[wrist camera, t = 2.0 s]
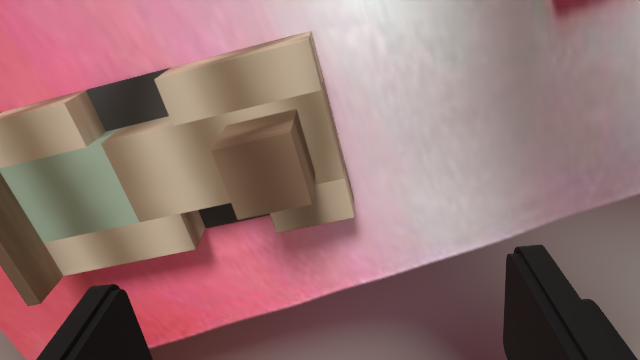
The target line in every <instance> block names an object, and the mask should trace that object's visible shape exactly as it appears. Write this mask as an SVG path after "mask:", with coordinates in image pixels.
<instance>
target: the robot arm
mask: <svg viewBox="0 0 640 360" xmlns="http://www.w3.org/2000/svg"><path fill="white" fill-rule="evenodd" d="M503 344H504V350H505V354H506V356H507V359H508V360H638V359H637V358H636V357H635V355H634V354H633V353H632V351H631V350H630V348H629V347H628V346H627V344H626V343H625V342H624V340H623V339H622V338H621V336H620V335H619V334H618V332H617V331H616V330H615V328H614V327H613V325H612V324H611V323H610V321H609V320H608V319H607V317H606V316H605V315H604V313H603V312H602V311H601V309H600V308H599V307H598V305H597V304H596V303H595V302H594V301H592V300H590V299H582V300H581V299H580V297H579V296H578V294H577V293H576V291H575V290H574V288H573V287H572V286H571V284H570V283H569V281H568V280H567V279H566V277H565V276H564V274H563V273H562V272H561V270H560V269H559V267H558V266H557V264H556V263H555V261H554V260H553V259H552V257H551V256H550V254H549V253H548V252H547V250H546V249H545V247H544V246H543V245H532V246H522V247H516V248H515V250H514V253H513V254H508V255H507V259H506V282H505V307H504V331H503ZM36 360H153V359H152V356H151V354H150V351H149V349H148V346H147V344H146V341H145V338H144V336H143V333H142V331H141V328H140V326H139V323H138V321H137V318H136V316H135V313H134V310H133V308H132V305H131V303H130V300H129V298H128V295H127V293H126V291H125V290H123V289H120V288H119V287H118V286H117V285H115V284H111V285H100V286H93V287H90V288H89V289H88V290H87V292H86V293H85V295H84V296H83V297H82V299H81V300H80V301H79V303H78V304H77V305H76V307H75V308H74V309H73V311H72V312H71V313H70V315H69V316H68V318H67V319H66V320H65V322H64V323H63V324H62V326H61V327H60V328H59V330H58V331H57V332H56V334H55V335H54V336H53V338H52V339H51V340H50V342H49V343H48V345H47V346H46V347H45V349H44V350H43V351H42V353H41V354H40V355H39V357H38V358H37V359H36Z"/></svg>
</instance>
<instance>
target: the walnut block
mask: <svg viewBox="0 0 640 360" xmlns="http://www.w3.org/2000/svg"><path fill="white" fill-rule="evenodd" d="M211 152H212V155H213V157H214V160H215V163H216V165H217V168H218V170H219V173H220V175H221V178H222V181H223V183H224V186H225V188H226V191H227V194H228V196H229V199H230V201H231V204H232V206H233V209H234V212H235V214H236V217H237V219H238V220H240V219H245V218H250V217H254V216H259V215H264V214H269V213H274V212H278V211H283V210H288V209H293V208H298V207H302V206H307V205H312V203H313V193H314V183H315V171H314V167H313V164H312V160H311V157H310V154H309V150H308V147H307V143H306V140H305V136H304V133H303V129H302V126H301V122H300V119H299V115H298V112H297V109H293V110H289V111H285V112H281V113H277V114H272V115H268V116H264V117H260V118H256V119H252V120H247V121H243V122H239V123H235V124H231V125H227V126H226V127H225V129H224V130H223V132H222V134H221V135H220V137H219V138H218V140H217V142H216V143H215V145H214V146H213V148H212V150H211Z"/></svg>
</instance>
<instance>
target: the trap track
mask: <svg viewBox="0 0 640 360" xmlns="http://www.w3.org/2000/svg"><path fill="white" fill-rule="evenodd" d="M293 109H297V112H298V115H299V119H300V122H301V126H302V129H303V133H304V136H305V140H306V143H307V147H308V150H309V154H310V157H311V160H312V164H313V167H314V171H315V183H314V193H313V203H312V205H307V206H302V207H298V208H293V209H288V210H283V211H278V212H274V213H269V214H264V215H259V216H254V217H250V218H245V219H240V220H238V219H237V217H236V214H235V212H234V209H233V206H232V204H231V201H230V199H229V196H228V194H227V191H226V188H225V186H224V183H223V181H222V178H221V175H220V173H219V170H218V168H217V165H216V163H215V160H214V157H213V155H212V152H211V150H212V148H213V146H214V145H215V143H216V142H217V140H218V138H219V137H220V135H221V134H222V132H223V130H224V129H225V127H226V126H227V125H231V124H235V123H239V122H243V121H247V120H252V119H256V118H260V117H264V116H268V115H272V114H277V113H281V112H285V111H289V110H293ZM267 215H271V218H272V221H273V224H274V227H275V230H276V233H279V232H284V231H289V230H294V229H299V228H304V227H309V226H314V225H319V224H324V223H329V222H334V221H339V220H344V219H349V218H354V217H355V215H354V198H353V193H352V189H351V185H350V181H349V177H348V173H347V169H346V165H345V161H344V158H343V154H342V150H341V146H340V142H339V138H338V134H337V130H336V126H335V122H334V118H333V115H332V111H331V107H330V103H329V99H328V95H327V91H326V87H325V83H324V79H323V76H322V72H321V68H320V64H319V60H318V56H317V52H316V48H315V44H314V40H313V36H312V33H311V31H309V32H306V33H302V34H298V35H294V36H290V37H287V38H283V39H279V40H275V41H271V42H267V43H264V44H260V45H256V46H252V47H248V48H245V49H241V50H237V51H233V52H229V53H226V54H222V55H218V56H214V57H210V58H206V59H203V60H199V61H195V62H191V63H187V64H184V65H180V66H176V67H172V68H168V69H165V70H161V71H157V72H153V73H149V74H145V75H142V76H138V77H134V78H130V79H126V80H123V81H119V82H115V83H111V84H107V85H104V86H100V87H96V88H92V89H88V90H84V91H81V92H77V93H73V94H69V95H65V96H62V97H58V98H54V99H50V100H46V101H43V102H39V103H35V104H31V105H27V106H24V107H20V108H16V109H12V110H8V111H4V112H1V113H0V266H1V267H2V269H3V270H4V272H5V273H6V275H7V276H8V277H9V279H10V280H11V282H12V283H13V285H14V286H15V288H16V289H17V291H18V292H19V294H20V295H21V297H22V298H23V300H24V301H25V303H26V304H27V306H31V305H36V304H41V303H42V301H43V300H44V299H45V298H46V297H47V295H48V294H49V293H50V292H51V291H52V289H53V288H54V287H55V286H56V285H57V283H58V282H59V281H60V280H61V279H62V277H63V276H66V275H71V274H76V273H81V272H86V271H91V270H96V269H101V268H106V267H111V266H116V265H121V264H126V263H131V262H136V261H140V260H145V259H150V258H155V257H160V256H165V255H170V254H175V253H180V252H185V251H190V250H195V249H196V248H197V246H198V244H199V241H200V239H201V237H202V235H203V233H204V231H205V229H206V228H209V227H214V226H219V225H223V224H228V223H233V222H238V221H243V220H247V219H252V218H257V217H262V216H267Z"/></svg>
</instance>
